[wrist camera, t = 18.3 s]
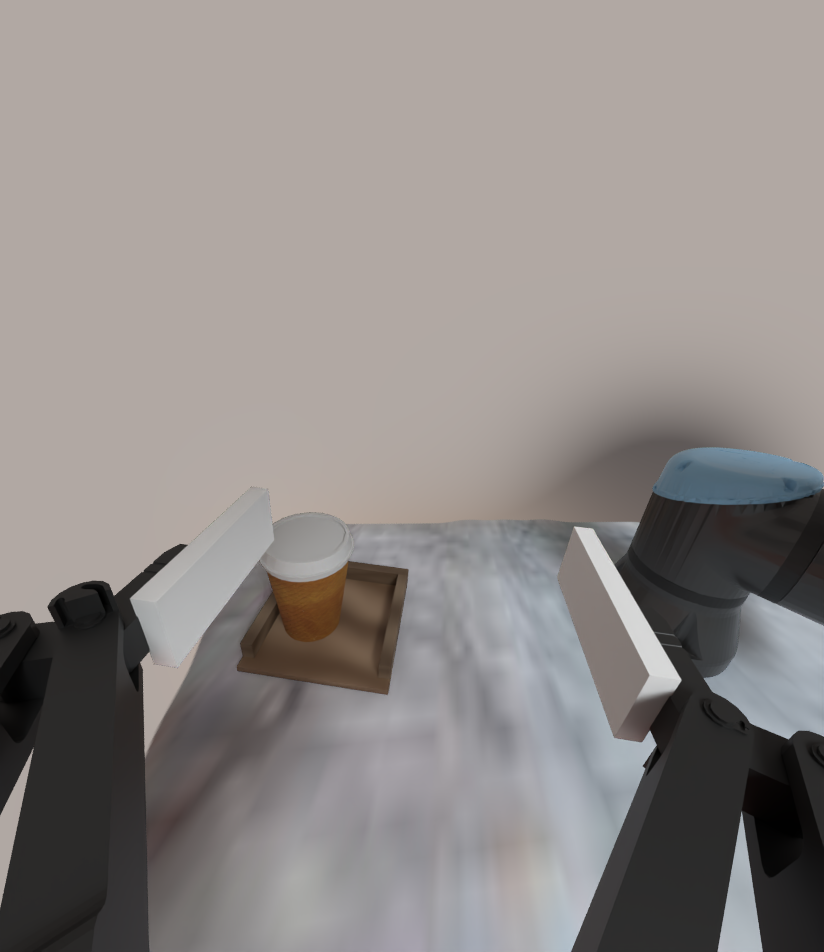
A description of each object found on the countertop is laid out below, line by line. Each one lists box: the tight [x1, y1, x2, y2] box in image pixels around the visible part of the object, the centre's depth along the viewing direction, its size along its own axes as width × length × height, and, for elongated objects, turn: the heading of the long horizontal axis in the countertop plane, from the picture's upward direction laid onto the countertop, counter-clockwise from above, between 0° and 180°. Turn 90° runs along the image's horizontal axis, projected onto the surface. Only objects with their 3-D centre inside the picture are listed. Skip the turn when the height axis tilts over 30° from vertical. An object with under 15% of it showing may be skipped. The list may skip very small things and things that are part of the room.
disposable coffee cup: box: [259, 512, 354, 642], centre depth 40 cm, size 10×10×12 cm
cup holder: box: [237, 561, 408, 695], centre depth 42 cm, size 15×15×3 cm
